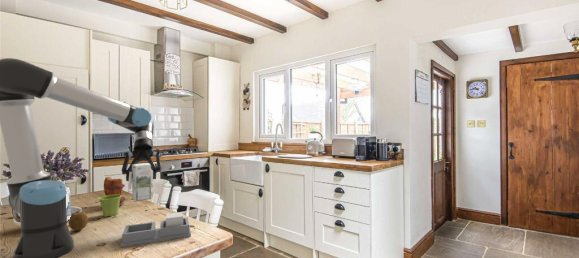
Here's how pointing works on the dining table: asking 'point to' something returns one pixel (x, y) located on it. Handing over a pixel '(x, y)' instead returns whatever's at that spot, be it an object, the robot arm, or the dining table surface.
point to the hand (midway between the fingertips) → (140, 186)
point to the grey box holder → (156, 231)
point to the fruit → (78, 221)
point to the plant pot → (110, 204)
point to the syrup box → (141, 181)
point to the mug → (114, 188)
